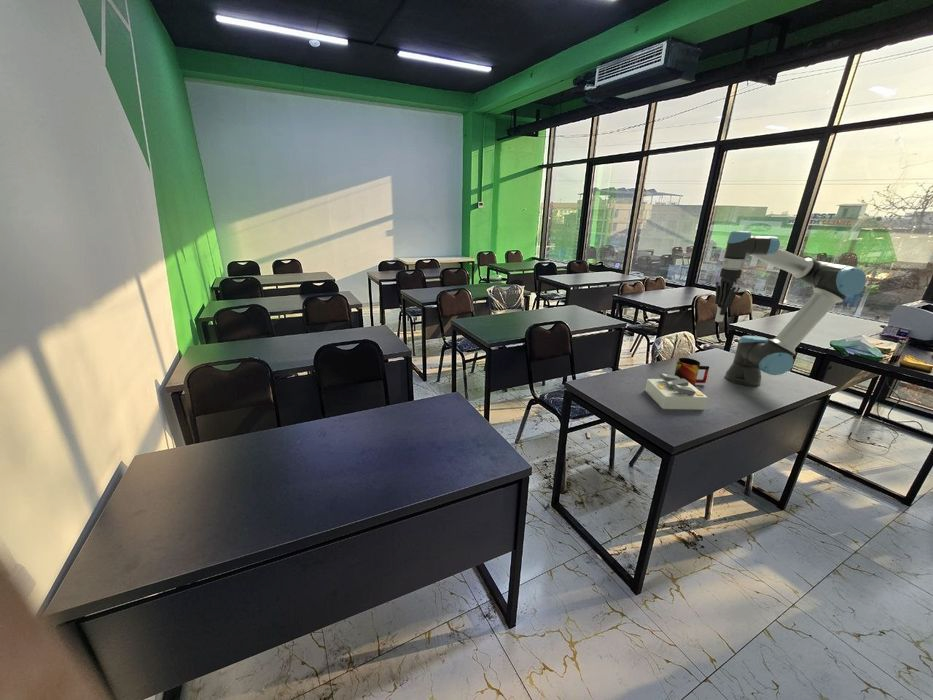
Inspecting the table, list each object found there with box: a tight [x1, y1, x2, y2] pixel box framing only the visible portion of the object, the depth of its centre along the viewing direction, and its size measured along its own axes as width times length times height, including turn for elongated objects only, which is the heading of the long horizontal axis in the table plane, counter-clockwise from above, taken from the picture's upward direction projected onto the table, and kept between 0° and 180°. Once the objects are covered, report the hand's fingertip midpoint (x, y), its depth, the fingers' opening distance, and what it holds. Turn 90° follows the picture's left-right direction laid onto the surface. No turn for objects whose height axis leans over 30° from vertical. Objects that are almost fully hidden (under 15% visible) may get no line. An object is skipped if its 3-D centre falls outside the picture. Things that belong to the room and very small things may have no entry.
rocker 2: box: [666, 378, 688, 389], centre depth 176 cm, size 8×4×2 cm, turn 90°
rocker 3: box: [672, 384, 696, 395], centre depth 171 cm, size 8×4×2 cm, turn 91°
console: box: [645, 378, 708, 411], centre depth 178 cm, size 18×18×7 cm
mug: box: [674, 357, 710, 387], centre depth 194 cm, size 10×14×12 cm
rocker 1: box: [659, 372, 680, 381], centre depth 182 cm, size 8×4×2 cm, turn 91°
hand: (718, 321), depth 178 cm, fingers closed
